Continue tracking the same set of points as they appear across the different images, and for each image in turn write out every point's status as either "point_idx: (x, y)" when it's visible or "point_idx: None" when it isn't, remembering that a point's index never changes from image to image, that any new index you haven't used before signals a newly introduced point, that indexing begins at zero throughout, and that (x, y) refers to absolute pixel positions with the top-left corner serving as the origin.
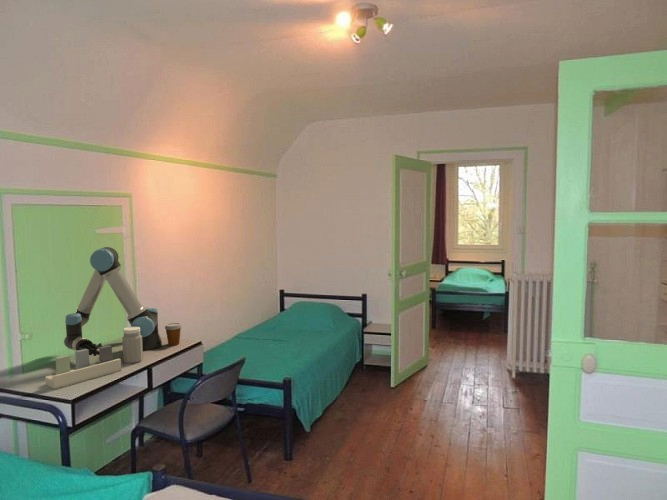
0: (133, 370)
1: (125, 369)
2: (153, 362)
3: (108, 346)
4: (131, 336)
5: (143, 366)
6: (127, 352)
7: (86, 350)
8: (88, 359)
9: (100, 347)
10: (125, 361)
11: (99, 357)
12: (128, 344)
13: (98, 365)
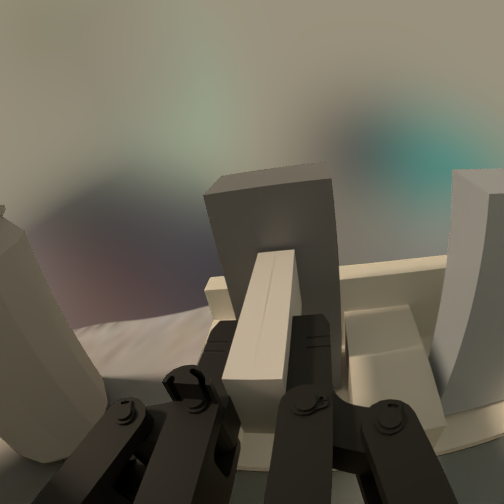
0: (200, 309)
1: (203, 344)
2: (78, 329)
3: (246, 175)
4: (1, 216)
5: (135, 320)
6: (70, 342)
7: (471, 171)
8: (450, 273)
9: (320, 173)
10: (101, 415)
11: (339, 293)
12: (39, 277)
13: (382, 265)
